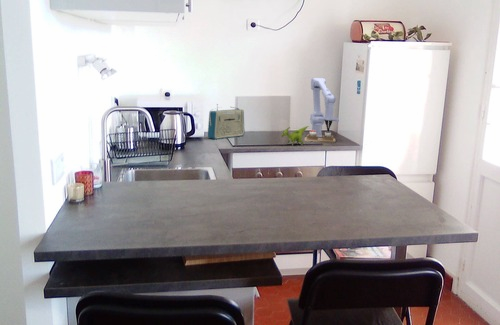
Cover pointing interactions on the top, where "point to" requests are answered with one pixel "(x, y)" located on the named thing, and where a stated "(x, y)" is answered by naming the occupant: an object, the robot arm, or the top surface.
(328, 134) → the grey plug
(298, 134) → the toy
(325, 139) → the socket panel
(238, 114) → the radio
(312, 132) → the plug red
